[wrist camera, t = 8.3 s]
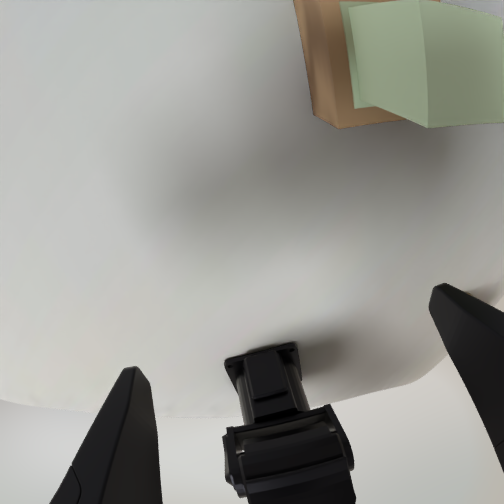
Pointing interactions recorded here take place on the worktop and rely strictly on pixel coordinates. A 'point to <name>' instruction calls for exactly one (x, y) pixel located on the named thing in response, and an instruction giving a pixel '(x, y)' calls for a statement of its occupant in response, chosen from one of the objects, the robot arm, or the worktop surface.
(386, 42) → the sage block
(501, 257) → the worktop surface
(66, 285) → the worktop surface
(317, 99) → the base block
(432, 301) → the robot arm
